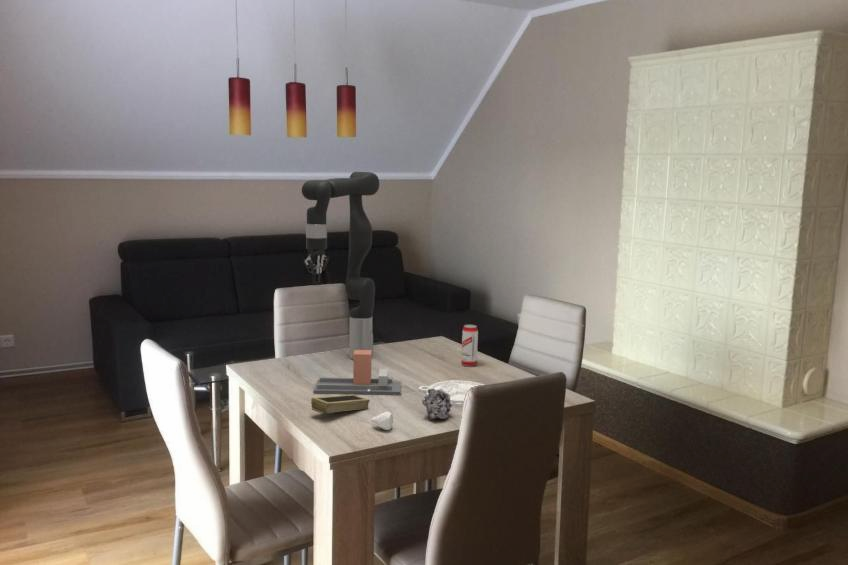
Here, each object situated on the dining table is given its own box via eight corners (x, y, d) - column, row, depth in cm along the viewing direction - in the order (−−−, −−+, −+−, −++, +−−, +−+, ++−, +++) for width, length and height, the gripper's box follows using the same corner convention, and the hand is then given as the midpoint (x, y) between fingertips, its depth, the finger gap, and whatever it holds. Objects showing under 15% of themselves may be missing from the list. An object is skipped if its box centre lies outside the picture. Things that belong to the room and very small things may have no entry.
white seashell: (375, 424, 222) (375, 407, 221) (393, 426, 220) (394, 409, 219) (368, 430, 217) (369, 413, 216) (387, 433, 215) (388, 415, 214)
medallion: (483, 412, 237) (483, 405, 236) (406, 400, 246) (406, 394, 245) (501, 391, 258) (501, 385, 258) (430, 381, 268) (430, 375, 267)
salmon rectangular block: (353, 387, 252) (353, 354, 250) (354, 382, 258) (354, 349, 256) (370, 387, 252) (370, 354, 250) (371, 382, 258) (371, 350, 256)
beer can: (468, 361, 294) (469, 323, 291) (480, 365, 290) (481, 326, 287) (457, 364, 290) (459, 325, 287) (469, 368, 285) (471, 328, 283)
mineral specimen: (426, 394, 240) (433, 373, 232) (454, 406, 238) (461, 386, 231) (411, 422, 230) (417, 402, 223) (439, 436, 229) (446, 416, 221)
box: (308, 412, 227) (310, 397, 226) (357, 407, 244) (359, 392, 244) (326, 419, 221) (328, 403, 221) (375, 413, 239) (377, 398, 239)
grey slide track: (313, 393, 249) (313, 376, 248) (317, 383, 261) (317, 366, 260) (400, 395, 250) (400, 377, 249) (400, 384, 262) (400, 368, 261)
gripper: (313, 238, 254) (313, 287, 257) (335, 235, 265) (335, 282, 268) (296, 237, 257) (296, 284, 260) (319, 234, 269) (319, 280, 272)
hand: (316, 283), depth 264 cm, fingers closed
